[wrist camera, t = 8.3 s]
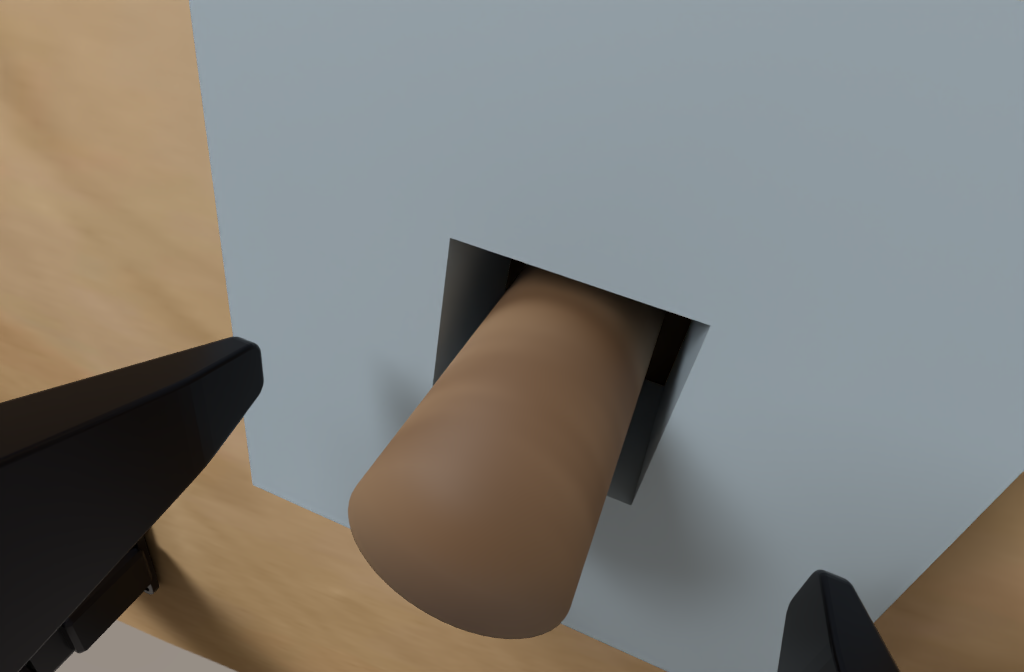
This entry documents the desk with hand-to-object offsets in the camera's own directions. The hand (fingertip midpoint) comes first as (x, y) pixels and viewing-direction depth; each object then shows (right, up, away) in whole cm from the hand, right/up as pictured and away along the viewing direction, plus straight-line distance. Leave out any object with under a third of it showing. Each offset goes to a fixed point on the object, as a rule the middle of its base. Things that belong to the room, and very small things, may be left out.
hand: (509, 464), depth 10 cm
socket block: (+2, +3, +5) cm, 6 cm away
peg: (+2, +3, +5) cm, 6 cm away
